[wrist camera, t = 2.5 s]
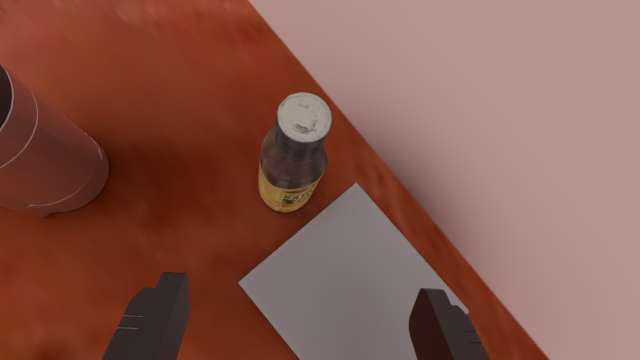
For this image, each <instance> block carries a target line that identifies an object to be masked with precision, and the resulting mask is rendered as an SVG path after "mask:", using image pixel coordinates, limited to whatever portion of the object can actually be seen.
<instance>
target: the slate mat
mask: <svg viewBox="0 0 640 360" xmlns="http://www.w3.org/2000/svg"><path fill="white" fill-rule="evenodd" d="M238 283H239V284H240V286H241V287H242V288H243V289H244V291H245V292H246V293H247V294H248V296H249V297H250V298H251V299H252V301H253V302H254V303H255V304H256V306H257V307H258V308H259V309H260V311H261V312H262V313H263V314H264V316H265V317H266V318H267V319H268V321H269V322H270V323H271V324H272V325H273V327H274V328H275V329H276V330H277V332H278V333H279V334H280V335H281V337H282V338H283V339H284V340H285V342H286V343H287V344H288V345H289V347H290V348H291V349H292V350H293V352H294V353H295V354H296V355H297V357H298V358H299V359H300V360H417V357H416V354H415V350H414V347H413V344H412V341H411V338H410V334H409V317H410V314H411V311H412V309H413V306H414V303H415V301H416V298H417V295H418V293H419V290H420V289H421V288H431V289H443V290H444V291H445V292H446V294H447V296H448V299H449V301H450V303H451V305H458V306H459V307H460V308H461V309H462V310H463V311H464V312H465V314H467V313H468V312H469V310H468V309H467V308H466V307H465V306H464V304H463V303H462V302H461V301H460V300H459V299H458V298H457V296H456V295H455V294H454V293H453V292H452V291H451V290H450V288H449V287H448V286H447V285H446V284H445V283H444V282H443V281H442V279H441V278H440V277H439V276H438V275H437V274H436V273H435V271H434V270H433V269H432V268H431V267H430V266H429V265H428V263H427V262H426V261H425V260H424V259H423V258H422V257H421V255H420V254H419V253H418V252H417V251H416V250H415V249H414V248H413V246H412V245H411V244H410V243H409V242H408V241H407V240H406V238H405V237H404V236H403V235H402V234H401V233H400V232H399V230H398V229H397V228H396V227H395V226H394V225H393V224H392V222H391V221H390V220H389V219H388V218H387V217H386V216H385V214H384V213H383V212H382V211H381V210H380V209H379V208H378V207H377V205H376V204H375V203H374V202H373V201H372V200H371V199H370V197H369V196H368V195H367V194H366V193H365V192H364V191H363V189H362V188H361V187H360V186H359V185H358V184H357V183H355V184H354V185H353V186H351V187H350V188H349V189H348V190H347V191H346V192H344V193H343V194H342V195H341V196H340V197H338V198H337V199H336V200H335V201H334V202H333V203H331V204H330V205H329V206H328V207H327V208H325V209H324V210H323V211H322V212H321V213H320V214H318V215H317V216H316V217H315V218H314V219H312V220H311V221H310V222H309V223H308V224H307V225H305V226H304V227H303V228H302V229H301V230H299V231H298V232H297V233H296V234H295V235H294V236H292V237H291V238H290V239H289V240H288V241H286V242H285V243H284V244H283V245H282V246H281V247H279V248H278V249H277V250H276V251H275V252H273V253H272V254H271V255H270V256H269V257H267V258H266V259H265V260H264V261H263V262H262V263H260V264H259V265H258V266H257V267H256V268H254V269H253V270H252V271H251V272H250V273H249V274H247V275H246V276H245V277H244V278H243V279H241V280H240V281H239V282H238Z"/></svg>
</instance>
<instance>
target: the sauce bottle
mask: <svg viewBox="0 0 640 360" xmlns="http://www.w3.org/2000/svg"><path fill="white" fill-rule="evenodd" d="M331 125H332V116H331V112H330V109H329V107H328V106H327V104H326V103H325V102H324V101H323V100H322V99H321V98H319V97H318V96H316V95H313V94H311V93H305V92H302V93H295V94H292V95H290V96H288V97H287V98H285V99H284V100H283V102H282V103H281V104H280V105H279V107H278V110H277V115H276V122H275V126H273V127H272V128H271V129H270V130H269V131H268V133H267V135H266V136H265V138H264V140H263V143H262V146H261V152H260V158H259V183H258V185H259V192H260V195H261V197H262V199H263V201H264V203H265V204H266V205H267V206H268V207H269V208H270V209H272V210H274V211H277V212H282V213H287V212H291V211H294V210H297V209H299V208H300V207H302V206H303V205H304V204H305V203H306V202H307V201H308V199H309V198H310V196H311V194H312V192H313V191H314V189H315V187H316V185H317V184H318V182H319V180H320V178H321V177H322V175H323V173H324V171H325V169H326V166H327V155H326V151H325V146H324V141H325V140H326V138H327V136H328V134H329V131H330V128H331Z"/></svg>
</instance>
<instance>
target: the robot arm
mask: <svg viewBox="0 0 640 360" xmlns="http://www.w3.org/2000/svg"><path fill="white" fill-rule="evenodd" d="M108 174H109V162H108V158H107V155H106V153H105V152H104V150H103V148H102V147H101V146H100V145H99V144H98V143H97V142H96V141H95V140H94V139H92V138H91V137H90V136H89V135H88V134H86V133H85V132H83V131H82V130H81V129H80V128H79V127H78V126H76V125H75V124H74V123H73V122H71V121H70V120H69V119H68V118H67V117H65V116H64V115H63V114H62V113H60V112H59V111H58V110H57V109H56V108H54V107H53V106H52V105H51V104H49V103H48V102H47V101H46V100H45V99H43V98H42V97H41V96H40V95H38V94H37V93H36V92H35V91H34V90H32V89H31V88H30V87H29V86H27V85H26V84H25V83H24V82H23V81H21V80H20V79H19V78H18V77H16V76H15V75H14V74H13V73H12V72H10V71H9V70H8V69H7V68H5V67H4V66H3V65H2V64H1V63H0V206H2V207H6V208H9V209H13V210H16V211H20V212H23V213H27V214H30V215H34V216H37V217H41V218H44V217H46V216H47V215H49V214H51V213H54V212H67V211H72V210H76V209H78V208H80V207H83V206H85V205H86V204H88V203H89V202H91V201H92V200H93V199H94V198H95V197H96V196H98V195H99V193H100V192H101V191H102V189H103V188H104V186H105V184H106V181H107V179H108ZM188 316H189V282H188V274H187V273H173V272H163V274H162V275H161V278H160V280H159V282H158V285H157V287H156V288H143V289H142V290H141V291H140V292H139V293H138V294H137V295H135V296H134V297H133V298H132V299H131V301H130V303H129V305H128V307H127V309H126V311H125V313H124V317H122V319H121V321H120V323H119V325H118V329H116V331H115V333H114V335H113V338H112V340H111V342H110V344H109V346H108V348H107V350H106V352H105V354H104V356H103V358H102V360H176V359H177V355H178V352H179V349H180V345H181V342H182V339H183V335H184V332H185V329H186V325H187V321H188ZM409 334H410V338H411V341H412V344H413V347H414V350H415V354H416V357H417V360H490V358H489V356H488V354H487V352H486V350H485V348H484V346H483V345H482V344H481V343H482V342H481V340H480V338H479V336H478V334H476V330H475V328H474V326H473V324H472V322H471V320H470V318H469V317H468V316H467V315H466V314H465V312H464V311H463V310H462V309H461V308H460V307H459V306H458V305H451V303H450V301H449V299H448V296H447V294H446V292H445V291H444V290H443V289H431V288H421V289H420V290H419V293H418V295H417V298H416V301H415V303H414V306H413V309H412V311H411V314H410V317H409Z"/></svg>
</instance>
